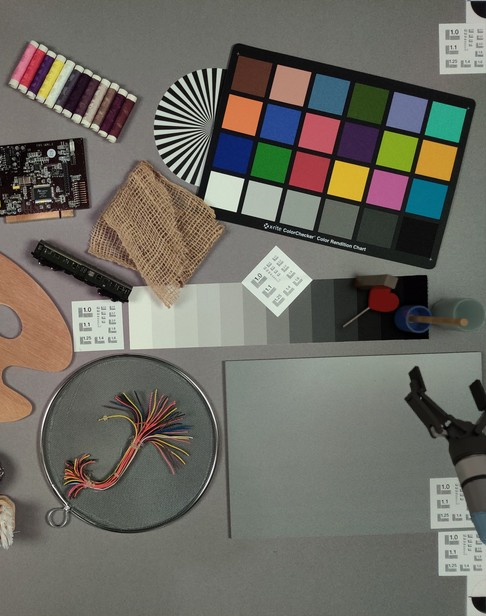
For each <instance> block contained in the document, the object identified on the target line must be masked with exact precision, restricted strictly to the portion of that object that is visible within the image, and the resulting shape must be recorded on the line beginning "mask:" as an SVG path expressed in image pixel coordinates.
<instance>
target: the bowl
mask: <svg viewBox="0 0 486 616" xmlns="http://www.w3.org/2000/svg"><path fill="white" fill-rule="evenodd" d="M409 314H410V315H414V316H430V317H432V311H431V310H430V309H429V308H427V307H426V306H424V305H415V304H413V305H411V304H410V305H409V304H407V305H403V306H400V307H399V308H398V309H397V310H396V311H395V313H394V320H393V321H394V324H395V326H396V327H397V328H398V329H399V331H400V330H401V331H403V332H408V333H416V334H421V333H425V332H426V331H428V330H429V329H430V328H431V326H432V324H430V323H417V322H413V323H408V315H409Z"/></svg>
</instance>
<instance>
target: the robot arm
mask: <svg viewBox="0 0 486 616" xmlns="http://www.w3.org/2000/svg"><path fill="white" fill-rule="evenodd" d="M408 377H409V380H410V381H409V382H408V383H409V384H408V385H409V389H410V392H408V394H406V395H405V397H404V398H403V400H404V402H405V403H406V404H407V405H408V407H409V408H410V409H411V410H412V411H413V413H414V414H415V415H416V417H417V418H418V419H419V420H420V422H421V423H422V424H423V425H424V427H425V428H426V430H427V432H428V434H429V436H430V437H431V438H432V439H434V440H436V439H437V438H438V437H441V438H445V440H446V441H447V443H448V450H447V451H448V454H449V456H450V460H451V462H452V465H453V467H454V470H455V473H456V477H457V480H458V482H459V483H458V484H459V485H460V488H461V491H462V492H461V493H462V494H463V497H464V500H465V504H466V507H467V511H468V513H469V516H470V521H471V523H472V524H473V526H474V529H475V532H476V534H477V536H478V539H479V541H480V542H481V543H482V544H483V545H484V546H486V434H485V433H484V432H483V431H484V429H485V428H486V390H485V388H484V386H483V383H482V382H481V379H480V378H479V379H478V378H476V379H475V380H474V381H473V382H471V383H470V384H469V385H468V389H469V392H470V394H471V396H472V398H473V401H474V403H475V406H476V408H477V411H478V412H481V414H480V416H479V417H478V419H477V420H476V421H475V423H473V422H472V421H470V420H463V419H460V418H456V417H455V416H454V415H452V414H450V413H448V412H446V411H445V410H444V409H443V408H442V407H441V406H440V405H439V404H437V403H436V401H434V400H433V399H432V398H431V397H430V396H428V394H427V386H426V384H425V380H424V377H423V375H422V372H421V370H420V366H418V365H415V366H413V367H412V368H411V369H410V371H408ZM448 422H449V423H448ZM446 423H448V424H447V425H446Z"/></svg>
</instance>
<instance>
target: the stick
mask: <svg viewBox="0 0 486 616" xmlns="http://www.w3.org/2000/svg"><path fill="white" fill-rule="evenodd" d="M413 322H417V323H430V324H431V325H436V324H443V325H456V326H466V325H467V324H468V321H467V319H464V318H447V317H430V316H414V315H410V314H409V315H408V323H413Z"/></svg>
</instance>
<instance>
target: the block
mask: <svg viewBox="0 0 486 616" xmlns="http://www.w3.org/2000/svg"><path fill="white" fill-rule="evenodd" d="M398 280H399V277H397V276H394V275H391V274H389V273H385V274H384V273H383V274H368V275H356V276H355V279H354V281H353V284H352V287H353V288H357V289H360V290H364V291H365V290H370V289H391V290H395V288H396V286H397V283H398Z"/></svg>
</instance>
